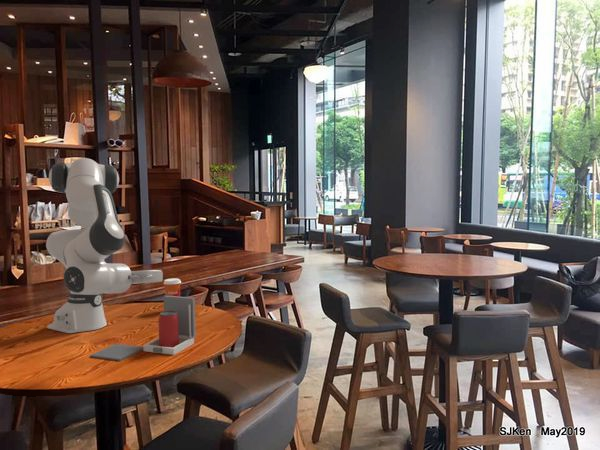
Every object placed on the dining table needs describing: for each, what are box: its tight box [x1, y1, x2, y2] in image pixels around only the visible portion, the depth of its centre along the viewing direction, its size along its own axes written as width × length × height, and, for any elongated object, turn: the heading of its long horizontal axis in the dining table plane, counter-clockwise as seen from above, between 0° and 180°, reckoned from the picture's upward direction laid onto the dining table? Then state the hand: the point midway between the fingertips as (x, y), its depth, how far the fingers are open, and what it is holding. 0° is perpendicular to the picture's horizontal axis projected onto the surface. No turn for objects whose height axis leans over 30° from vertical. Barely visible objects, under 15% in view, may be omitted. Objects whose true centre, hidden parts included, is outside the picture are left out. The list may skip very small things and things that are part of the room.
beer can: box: [157, 310, 180, 348], centre depth 160 cm, size 7×7×12 cm
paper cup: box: [163, 278, 182, 297], centre depth 210 cm, size 8×8×14 cm
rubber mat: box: [89, 343, 143, 362], centre depth 156 cm, size 12×12×1 cm
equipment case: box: [142, 295, 197, 356], centre depth 160 cm, size 12×14×16 cm
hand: (148, 277), depth 153 cm, fingers open, 8 cm apart
